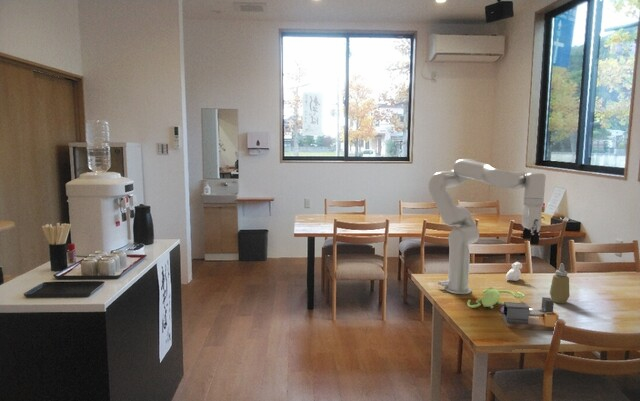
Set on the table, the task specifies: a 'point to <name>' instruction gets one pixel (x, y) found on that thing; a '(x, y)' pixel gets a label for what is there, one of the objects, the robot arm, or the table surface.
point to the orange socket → (549, 319)
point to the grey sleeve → (516, 313)
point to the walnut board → (529, 325)
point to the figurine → (492, 298)
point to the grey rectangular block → (543, 308)
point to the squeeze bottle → (560, 286)
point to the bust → (514, 272)
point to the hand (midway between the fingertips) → (530, 241)
